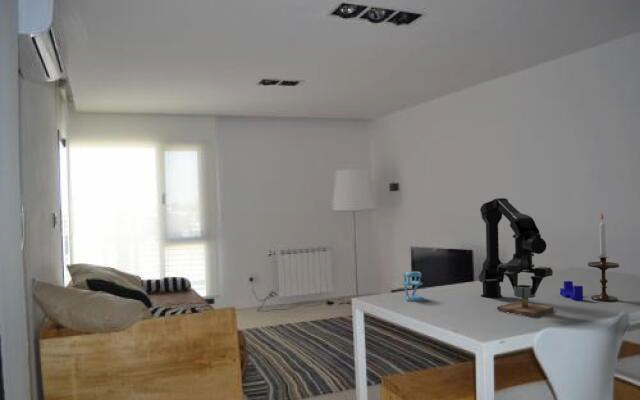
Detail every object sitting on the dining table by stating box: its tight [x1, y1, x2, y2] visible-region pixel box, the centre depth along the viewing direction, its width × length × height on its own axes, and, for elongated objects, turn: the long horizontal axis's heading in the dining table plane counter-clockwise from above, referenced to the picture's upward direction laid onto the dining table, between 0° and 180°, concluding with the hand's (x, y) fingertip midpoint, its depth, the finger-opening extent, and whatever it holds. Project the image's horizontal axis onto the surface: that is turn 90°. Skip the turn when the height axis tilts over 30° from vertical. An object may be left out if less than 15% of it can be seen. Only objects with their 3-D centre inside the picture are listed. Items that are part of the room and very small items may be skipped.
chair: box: [402, 271, 426, 302], centre depth 203 cm, size 8×8×12 cm
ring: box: [513, 284, 536, 299], centre depth 177 cm, size 7×7×4 cm
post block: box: [496, 298, 554, 318], centre depth 177 cm, size 14×14×8 cm
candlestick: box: [587, 212, 620, 303], centre depth 192 cm, size 11×11×35 cm
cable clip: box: [559, 280, 584, 302], centre depth 197 cm, size 12×4×6 cm, turn 172°
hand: (524, 293), depth 177 cm, fingers closed on ring, 7 cm apart
